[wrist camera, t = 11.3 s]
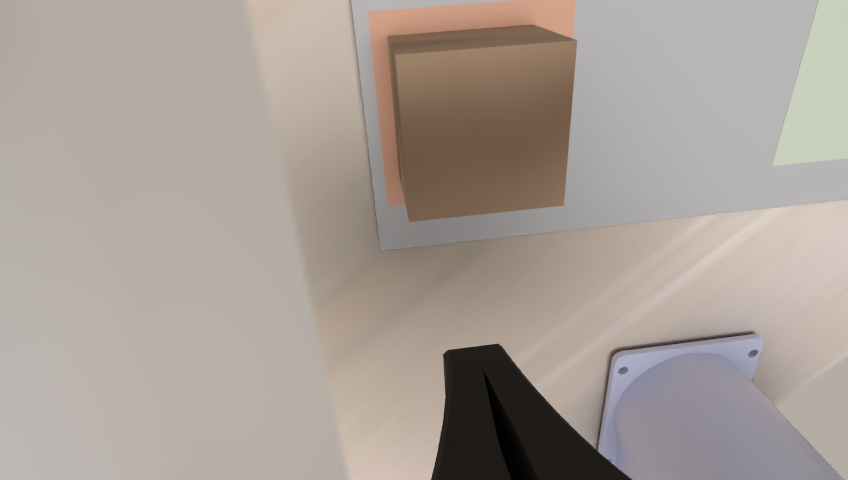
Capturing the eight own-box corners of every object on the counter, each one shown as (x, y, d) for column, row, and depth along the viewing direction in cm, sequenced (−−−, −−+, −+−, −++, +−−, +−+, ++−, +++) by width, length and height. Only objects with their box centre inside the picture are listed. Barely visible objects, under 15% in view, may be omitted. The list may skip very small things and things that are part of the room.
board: (904, 186, 23) (917, 192, 23) (379, 244, 22) (380, 251, 21) (1027, -102, 18) (1049, -104, 18) (344, -57, 16) (344, -58, 16)
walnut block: (527, 162, 20) (563, 205, 16) (399, 175, 20) (409, 222, 16) (533, 24, 18) (577, 40, 14) (387, 35, 17) (395, 54, 14)
